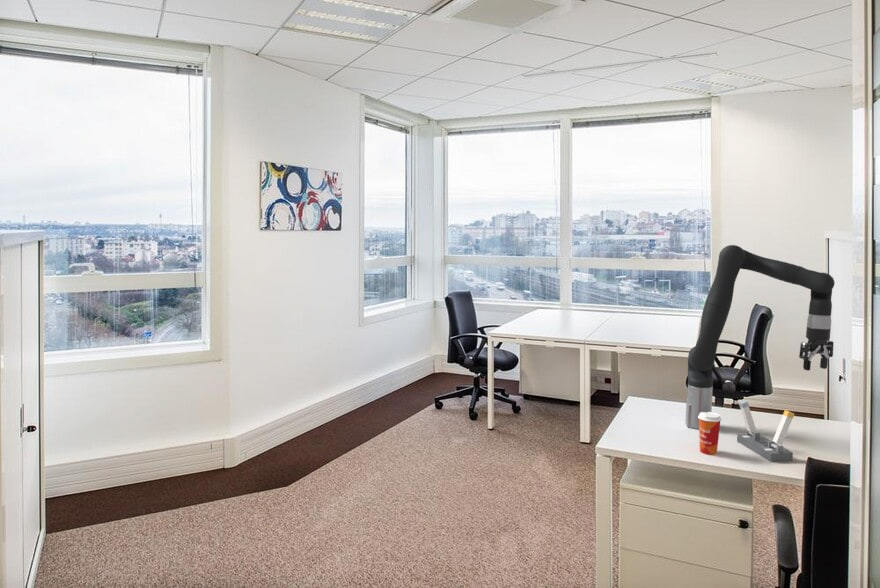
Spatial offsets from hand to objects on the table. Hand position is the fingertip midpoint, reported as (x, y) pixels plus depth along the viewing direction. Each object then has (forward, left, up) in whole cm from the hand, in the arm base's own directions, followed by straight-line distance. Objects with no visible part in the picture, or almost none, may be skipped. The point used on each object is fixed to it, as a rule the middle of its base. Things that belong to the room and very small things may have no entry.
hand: (815, 369), depth 219 cm
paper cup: (-39, -21, -28) cm, 52 cm away
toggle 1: (-22, -8, -24) cm, 34 cm away
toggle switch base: (-20, -15, -28) cm, 37 cm away
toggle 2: (-17, -21, -24) cm, 36 cm away
